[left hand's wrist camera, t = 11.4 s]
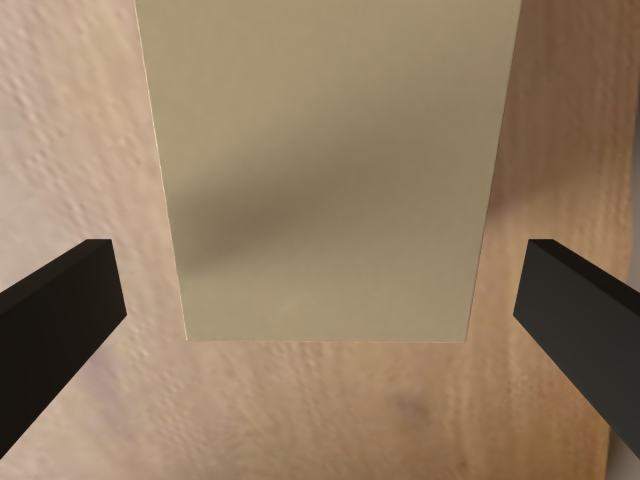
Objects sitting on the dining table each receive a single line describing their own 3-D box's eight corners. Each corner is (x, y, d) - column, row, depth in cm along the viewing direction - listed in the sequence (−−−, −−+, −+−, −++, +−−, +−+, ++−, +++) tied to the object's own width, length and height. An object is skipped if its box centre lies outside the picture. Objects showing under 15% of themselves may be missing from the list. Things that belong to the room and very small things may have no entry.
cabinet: (200, -221, 16) (33, -639, 7) (453, -223, 16) (631, -651, 7) (239, 244, 23) (186, 342, 14) (410, 244, 23) (466, 343, 14)
